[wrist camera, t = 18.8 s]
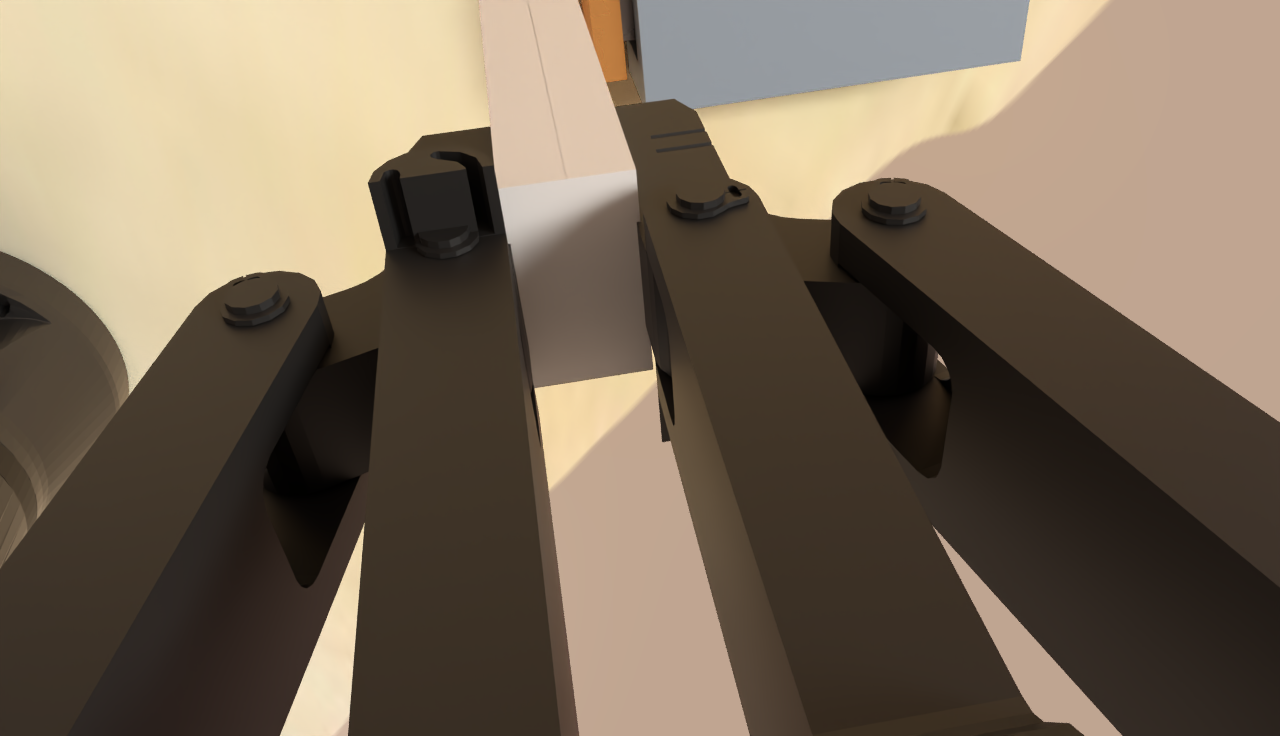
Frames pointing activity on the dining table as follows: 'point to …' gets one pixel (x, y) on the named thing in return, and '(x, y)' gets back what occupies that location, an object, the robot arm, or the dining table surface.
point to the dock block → (810, 44)
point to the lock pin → (610, 33)
